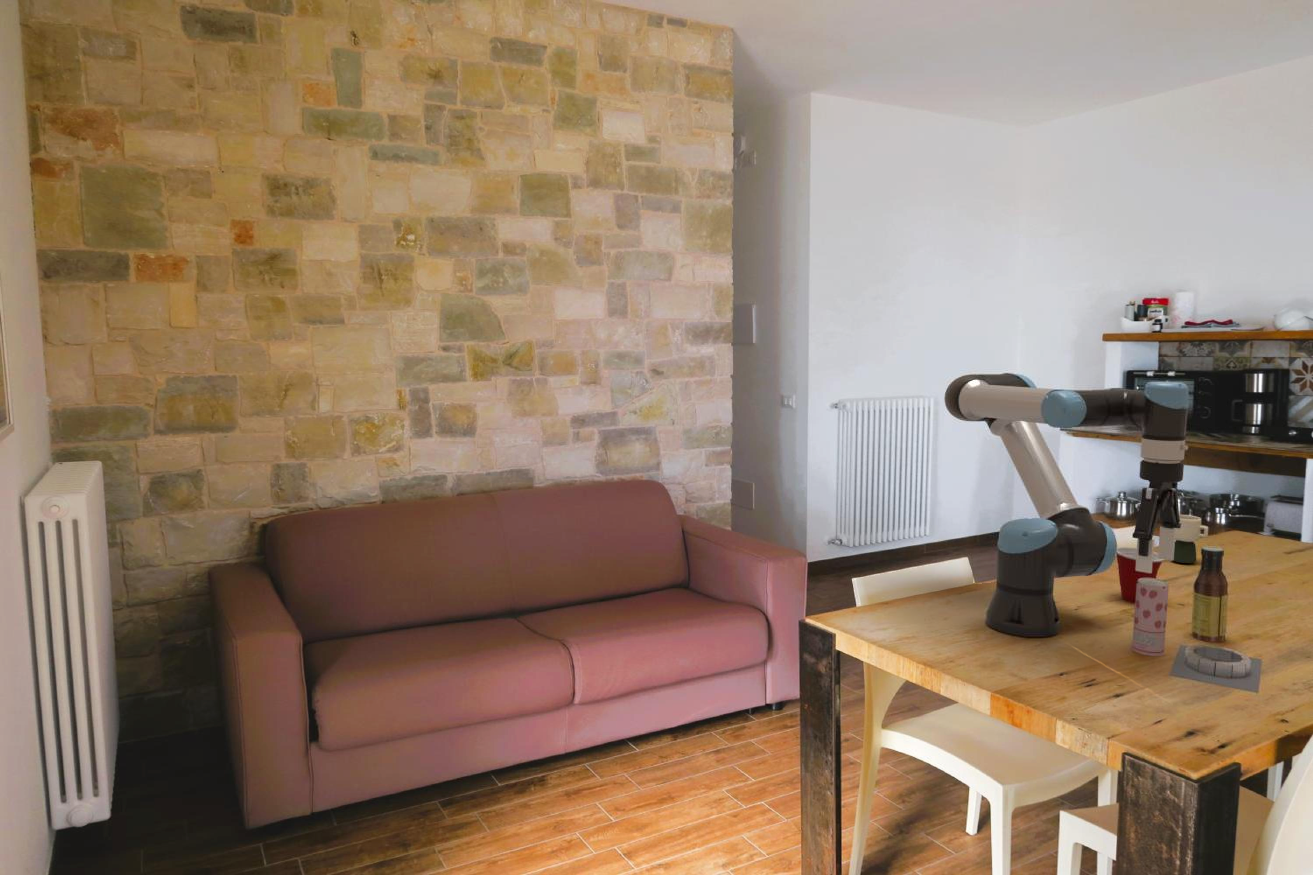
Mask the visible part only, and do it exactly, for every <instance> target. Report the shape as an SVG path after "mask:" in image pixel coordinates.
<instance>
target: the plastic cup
mask: <svg viewBox="0 0 1313 875" xmlns="http://www.w3.org/2000/svg"><path fill="white" fill-rule="evenodd" d="M1136 555H1137V547H1130V546H1119V547H1118V546H1117V552H1116V554H1115V556H1116V560H1117V561H1116V562H1117V566H1118V578H1119V586H1120V595H1121V598H1122V600H1123V601H1125V602H1128V603H1132V604H1135V601H1136V587H1137V583H1138V579H1140V578H1155V579H1157V575H1158V572H1159V570H1160V566H1161V565H1162V563H1163V562H1165V559H1159V558H1158V552H1155V551H1153V562H1152V573H1146V572H1140V571H1135V570H1136Z"/></svg>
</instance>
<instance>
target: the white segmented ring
mask: <svg viewBox="0 0 1313 875" xmlns="http://www.w3.org/2000/svg"><path fill="white" fill-rule="evenodd" d="M1188 646H1189V645H1188ZM1249 657H1250V656H1248V654H1244V653H1242V652H1241V651H1237V650H1235V649H1231V648H1227V647H1222V646H1220V645H1219V646H1217V645H1212V644H1211V645H1210V644H1195V645H1193V644H1192V645H1190V646H1189V647H1188V648H1186V649H1185V663H1186V665H1187V666H1188V667H1190V668H1192V669H1194V670H1196V671H1199V672H1202V673H1206V674H1210V675H1213V676H1214V675H1215V676H1220V677H1229V678H1237V677H1245V676H1247V675H1248V674H1250V665H1251V660H1250V659H1249ZM1214 660H1218V661H1214ZM1220 661H1222V662H1220Z"/></svg>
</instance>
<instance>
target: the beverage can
mask: <svg viewBox="0 0 1313 875" xmlns="http://www.w3.org/2000/svg"><path fill="white" fill-rule="evenodd" d="M1168 585H1169V583H1168V582H1167V580H1164V579H1159V578H1156V579H1155V578H1140V579H1138V583H1137V587H1136V601H1135V603H1134V616H1133V617H1134V618H1133V628H1132V641H1131V650H1132V651H1134V652H1135V653H1137V654H1139V655H1145V656H1149V657H1159V656H1164V653H1165V644H1166V643H1165V642H1166V628H1167V616H1168V615H1167V613H1168V599H1169V590H1170V588H1169V586H1168Z"/></svg>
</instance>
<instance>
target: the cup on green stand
mask: <svg viewBox="0 0 1313 875" xmlns="http://www.w3.org/2000/svg"><path fill="white" fill-rule="evenodd" d="M1179 517H1180V522H1179V523H1181V528H1180V529H1179V528H1174V529H1176V532H1175V547H1174V560H1173V561H1175V562H1177V563H1183V564H1191V563H1195V562H1196V563H1197V546H1196V543H1195V542H1198V541H1199V540H1200V539H1201V538H1202V539H1203V538H1204V539H1205V538H1208V536H1209V526H1207V525H1202V517H1199V516H1195V515H1189V514H1179ZM1163 527H1165V526H1163ZM1201 530H1203V533H1201Z"/></svg>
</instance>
